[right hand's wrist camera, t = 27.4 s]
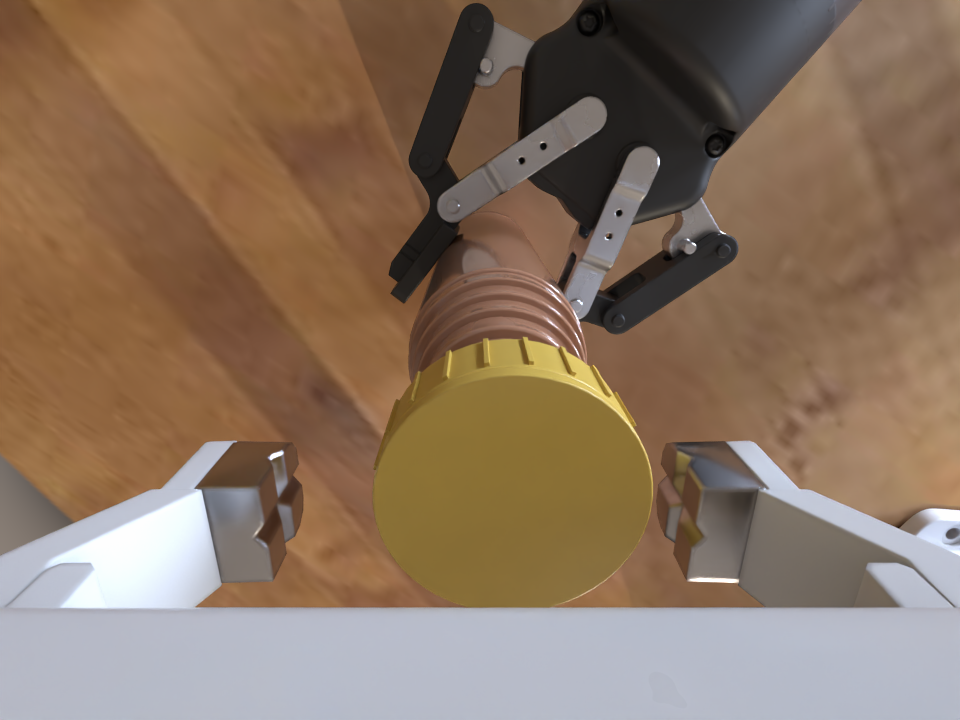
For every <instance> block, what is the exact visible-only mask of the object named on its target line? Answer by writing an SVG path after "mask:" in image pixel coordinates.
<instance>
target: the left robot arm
mask: <svg viewBox="0 0 960 720" xmlns="http://www.w3.org/2000/svg"><path fill="white" fill-rule="evenodd" d="M861 1H862V0H584V1H583V2H582V3H581V5H580V6H579V7H578V9H577V10H576V11H575V13H574V14H573V15H572V17H571V18H570V19H569V20H568V21H567V22H566V23H565V24H564V25H563V26H561V27H560V28H558V29H556V30H555V31H552V32H550V33H548V34H546V35H544V36H542V37H541V38H539V39H538V40H537V41H536V42H534V41H532V40H530V39H528V38H526V37H524V36H522V35H520V34H518V33H516V32H514V31H512V30H510V29H508V28H506V27H504V26H502V25H501V24H499V23H497V22H495V21H494V19H493V15H492V13H491V11H490V10H489V9H488V8H487V7H486V6H485V5H483V4H480V3H473V4H470V5H468V6H467V7H465V8H464V9H463V11H462V12H461V14H460V17H459V20H458V22H457V25H456V28H455V31H454V33H453V36H452V39H451V42H450V45H449V47H448V50H447V53H446V56H445V58H444V61H443V64H442V67H441V69H440V72H439V75H438V78H437V80H436V83H435V86H434V89H433V91H432V94H431V97H430V100H429V102H428V105H427V108H426V111H425V113H424V116H423V119H422V122H421V124H420V127H419V130H418V133H417V135H416V138H415V141H414V144H413V146H412V149H411V152H410V155H409V165H410V168H411V170H412V171H413V172H414V173H415V174H416V175H417V176H418V178H419V180H420V181H421V183H422V184H423V186H424V188H425V189H426V191H427V193H428V195H429V198H430V208H429V211H428V213H427V215H426V216H425V218H424V219H423V220H422V222H421V223H420V224H419V226H418V227H417V228H416V230H415V231H414V233H413V234H412V235H411V237H410V238H409V239H408V241H407V242H406V243H405V245H404V246H403V247H402V249H401V250H400V252H399V253H398V254H397V256H396V257H395V258H394V260H393V261H392V263H391V267H390V271H389V276H391V277H392V278H393V279H395V280H396V281H397V282H398V283H397V284H396V285H395V287H394V288H393V290H392V292H391V293H390V294H392V295H393V296H394V297H396V298H397V299H398V300H400V301H401V302H402V303H405V302H406V301H407V300H408V298H409V297H410V296H411V294H412V293H413V292H414V290H415V289H416V288H417V287H418V285H419V284H420V283H421V281H422V280H423V279H424V277H425V276H426V275H427V274H428V272H429V271H430V270H431V268H432V267H433V266H434V264H435V263H436V262H437V261H438V259H439V258H440V256H441V255H442V253H443V252H444V251H445V250H446V248H447V247H448V246H449V245H450V244H451V242H452V241H453V240H454V238H455V237H456V236H457V234H458V232H459V228H460V226H459V223H460V222H461V221H462V219H464V218H465V217H467V216H469V215H470V214H472V213H473V212H475V211H476V210H478V209H479V208H481V207H482V206H484V205H485V204H487V203H488V202H490V201H491V200H493V199H494V198H496V197H497V196H499V195H501V194H503V193H505V192H506V191H508V190H510V189H511V188H513V187H514V186H516V185H517V184H519V183H520V182H522V181H523V180H525V179H526V178H527V179H528V180H529V181H531V182H532V183H533V184H534V185H535V186H536V187H538V188H539V189H541V190H543V191H545V192H547V193H549V194H551V195H553V196H555V197H557V199H558V200H559V202H560V203H561V205H562V206H563V208H564V209H565V211H566V212H567V213H568V214H569V215H570V216H571V217H573V218H574V219H575V220H576V221H577V222H578V224H577V227H576V229H575V232H574V234H573V236H572V239H571V242H570V246H569V252H568V255H567V257H566V260H565V262H564V264H563V267H562V269H561V272H560V274H559V277H558V279H557V281H556V283H557V285H558V286H559V288H560V289H561V291H562V292H563V294H564V296H565V297H566V299H567V300H568V302H569V303H570V305H571V306H572V308H573V309H574V311H575V313H576V315H577V317H578V319H579V322H589V323H592V324H595V325H598V326H601V327H604V328H605V329H606V330H607V331H608V332H610V333H612V334H622V333H624V332H626V331H628V330H629V329H631V328H632V327H634V326H635V325H637V324H638V323H640V322H641V321H643V320H644V319H646V318H647V317H649V316H650V315H652V314H653V313H655V312H656V311H658V310H659V309H661V308H662V307H664V306H665V305H667V304H668V303H670V302H671V301H673V300H674V299H676V298H677V297H679V296H680V295H682V294H684V293H685V292H687V291H688V290H690V289H691V288H693V287H694V286H696V285H697V284H699V283H700V282H702V281H703V280H705V279H706V278H708V277H709V276H711V275H712V274H714V273H715V272H717V271H718V270H720V269H721V268H723V267H724V266H726V265H727V264H729V263H730V262H732V261H733V260H734V258H735V257H736V255H737V253H738V243H737V241H736V240H735V238H733V237H732V236H729V235H726V234H725V233H723V232H721V231H720V229H719V228H718V226H717V224H716V222H715V221H714V219H713V217H712V215H711V214H710V212H709V210H708V208H707V207H706V205H705V203H704V201H703V200H702V196H703V195H704V193H705V191H706V188H707V185H708V182H709V178H710V175H711V173H712V171H713V168H714V166H715V165H716V163H717V161H718V160H719V159H720V157H721V156H722V155H723V154H724V153H725V152H726V151H727V150H728V149H729V148H730V147H731V146H732V145H733V144H734V143H735V142H736V141H737V140H738V139H739V137H740V136H741V135H742V134H743V133H744V132H745V131H746V129H747V128H748V127H749V126H750V125H751V124H752V123H753V122H754V120H755V119H756V118H757V117H758V116H759V115H760V114H761V113H762V111H763V110H764V109H765V108H766V107H767V106H768V105H769V104H770V103H771V101H772V100H773V99H774V98H775V97H776V96H777V95H778V94H779V92H780V91H781V90H782V89H783V88H784V87H785V86H786V85H787V83H788V82H789V81H790V80H791V79H792V78H793V77H794V76H795V75H796V73H797V72H798V71H799V70H800V69H801V68H802V67H803V66H804V65H805V63H806V62H807V61H808V60H809V59H810V58H811V57H812V56H813V54H814V53H815V52H816V51H817V50H818V49H819V48H820V47H821V45H822V44H823V43H824V42H825V41H826V40H827V39H828V38H829V36H830V35H831V34H832V33H833V32H834V31H835V30H836V29H837V28H838V26H839V25H840V24H841V23H842V22H843V21H844V20H845V19H846V17H847V16H848V15H849V14H850V13H851V12H852V11H853V10H854V8H855V7H856V6H857V5H858V4H859V3H860V2H861ZM510 70H520V71H522V83H521V99H520V114H519V130H518V141H516V142H515V143H513V144H512V145H510V146H509V147H507V148H506V149H504V150H503V151H501V152H500V153H498V154H497V155H496V156H494V157H493V158H491V159H490V160H488V161H487V162H485V163H484V164H483V165H481V166H480V167H478V168H477V169H475V170H474V171H473V172H471V173H470V174H468V175H467V176H465V177H464V178H462V179H461V180H459V179H458V177H457V176H456V174H455V172H454V171H453V169H452V167H451V166H450V164H449V162H448V161H447V158H448V155H449V153H450V150H451V147H452V145H453V142H454V140H455V137H456V134H457V132H458V129H459V127H460V124H461V122H462V119H463V116H464V114H465V111H466V109H467V106H468V103H469V101H470V98H471V96H472V93H473V91H474V88H475V86H476V87H478V88H481V89H490V88H493V87H494V86H495V85H496V84H497V83H498V82H499V80H500V78H501V77H502V76H503V74H505V73H506V72H508V71H510ZM674 213H675V222H674V225H673V227H672V228H671V229H670V230H669V231H668V232H667V233H666V234H665V236H664V237H663V240H662V248H663V250H662V251H661V252H659V253H658V254H657V255H655V256H654V257H652V258H651V259H649V260H648V261H646V262H645V263H643V264H642V265H641V266H639V267H638V268H636V269H635V270H633V271H632V272H630V273H629V274H627V275H626V276H625V277H623V278H622V279H620V280H619V281H617V282H616V283H614V284H613V285H611V286H610V287H609V288H607V289H606V290H604V291H601V290H598V289H599V287H600V285H601V283H602V280H603V278H604V276H605V274H606V272H607V271H608V270H610V269H611V267H612V266H613V264H614V262H615V260H616V258H617V256H618V253H619V251H620V249H621V247H622V244H623V242H624V240H625V238H626V235H627V233H628V231H629V229H630V226H631V225H634V224H638V223H642V222H645V221H649V220H652V219H656V218H660V217H663V216H667V215H670V214H674ZM608 233H609V237H607V238H606V235H607V234H608Z"/></svg>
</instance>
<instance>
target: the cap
mask: <svg viewBox="0 0 960 720" xmlns="http://www.w3.org/2000/svg"><path fill="white" fill-rule="evenodd" d="M635 426H636V424H635V422H634V420H633V419H632V417H631V415H630V414H629V412H628V410H627V409H626V407H625V405H624V404H623V402H622V400H621V399H620V397H619V395H618V394H617V392H615V393H612V391H611V390H610V388H609V387H608V385H607V384H606V383H605V381H604V380H603V379H602V377H601V375H600V374H599V372H598V370H597V368H596V367H595V366H594V365H592V366H591V367H589V366H588V365H587V364H586V363H584V362H583V361H582V360H580V359H578V358H577V357H575V356H573V355H572V354H570V353H568V352H567V351H566V349H565V348H564V347H562V346H560V348H556V347H554V346H550V345H547V344H543V343H540V342H535V341H528V338H527V337H522V340H521V339H501V340H490V341H488V338H485V339H483V342H480V343H476V344H472V345H469V346H466V347H463V348H460V349H458V350H455V351H453V352H451V350H449V351H447V352H446V355H445V356H444V357H442V358H440V359H439V360H437V361H436V362H434V363H433V364H431V365H430V366H429V367H427V368H426V369H425V370H424V371H423V372H422V373H420V372H419V371H418V372H417V373H416V374H415V378H414V381H413V382H412V383H411V385H410V386H409V387H408V388H407V390H406V391H405V393H404V394H403V396H402V398H401V399H400V401H399V400H397V399H396V401H395V403H394V406H393V409H392V412H391V415H390V418H389V421H388V424H387V427H386V430H385V433H384V436H383V440H382V443H381V446H380V449H379V452H378V455H377V458H376V461H375V464H374V470H376V471H375V475H374V482H373V491H372V496H373V510H374V515H375V520H376V524H377V527H378V530H379V533H380V535H381V538H382V540H383V542H384V544H385V546H386V547H387V549H388V551H389V553H390V554H391V555H392V557H393V558H394V560H395V561H396V562H397V564H398V565H399V566H400V567H401V568H402V569H403V570H404V571H405V572H406V573H407V574H408V575H409V576H410V577H411V578H412V579H414V580H415V581H416V582H417V583H419V584H420V585H421V586H423V587H424V588H426V589H427V590H429V591H431V592H432V593H434V594H436V595H438V596H440V597H442V598H444V599H446V600H448V601H451V602H454V603H457V604H459V605H462V606H465V607H470V608H549V607H553V606H556V605H559V604H563V603H565V602H568V601H570V600H573V599H575V598H578V597H580V596H582V595H583V594H585V593H587V592H589V591H591V590H593V589H594V588H596V587H597V586H599V585H600V584H601V583H603V582H604V581H606V580H607V579H608V578H609V577H610V576H612V575H613V574H614V573H615V572H616V571H617V570H618V569H619V568H620V567H621V566H622V565H623V564H624V563H625V561H626V560H627V559H628V558H629V557H630V555H631V554H632V552H633V551H634V549H635V548H636V546H637V545H638V543H639V541H640V539H641V537H642V535H643V533H644V531H645V529H646V526H647V523H648V520H649V516H650V512H651V506H652V500H653V480H652V473H651V467H650V463H649V460H648V456H647V454H646V451H645V449H644V447H643V445H642V443H641V441H640V439H639V437H638V435H637V433H636V432H635V430H634V428H633V427H635Z"/></svg>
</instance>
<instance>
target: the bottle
mask: <svg viewBox="0 0 960 720" xmlns="http://www.w3.org/2000/svg"><path fill="white" fill-rule="evenodd" d="M459 226H460V228H459V232H458V234H457V236H456V237H455V238H454V240H453V241H452V242H451V244H450V245H449V246H448V247H447V248H446V250H445V251H444V252H443V253H442V255H441V256H440V258H439V259H438V261H437V263H436V266H435V268H434V271H433V274H432V276H431V279H430V282H429V284H428V287H427V290H426V292H425V295H424V298H423V300H422V303H421V306H420V309H419V311H418V314H417V317H416V319H415V322H414V325H413V328H412V332H411V335H410V342H409V374H410V380H411V383H412V382H413V381H414V378H415V374H416V373H417V372H418V371H419V372H420V373H422V372H423V371H424V370H425V369H426V368H427V367H429V366H430V365H431V364H433V363H434V362H436V361H437V360H439V359H440V358H442V357H444V356H445V355H446V352H447V351H449V350H451V352H453V351H455V350H458V349H460V348H463V347H466V346H469V345H472V344H476V343H480V342H483V339H485V338H488V341H490V340H501V339H521V340H522V337H527V338H528V341H535V342H540V343H543V344H547V345H550V346H554V347H556V348H560V346H562V347H564V348H565V349H566V351H567V352H568V353H570V354H572V355H573V356H575V357H577V358H578V359H580V360H582V361H583V362H584V363H586V364H587V350H586V344H585V340H584V336H583V332H582V328H581V325H580V322H579V319H578V317H577V315H576V313H575V311H574V309H573V308H572V306H571V305H570V303H569V302H568V300H567V299H566V297H565V296H564V294H563V292H562V291H561V289H560V288H559V286H558V285H557V283H556V282H555V280H554V279H553V277H552V276H551V274H550V272H549V271H548V269H547V268H546V266H545V265H544V263H543V262H542V260H541V259H540V257H539V256H538V254H537V253H536V251H535V249H534V248H533V246H532V245H531V243H530V242H529V240H528V239H527V237H526V236H525V234H524V233H523V231H522V229H521V228H520V227H519V226H518V225H517V224H516V223H515V222H514V221H513V220H511V219H510V218H508V217H506V216H504V215H502V214H499V213H495V212H478V213H473V214H471V215H469V216H467V217H465V218H464V219H462V221H461V222H460V223H459Z"/></svg>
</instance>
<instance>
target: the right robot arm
mask: <svg viewBox="0 0 960 720" xmlns="http://www.w3.org/2000/svg"><path fill="white" fill-rule="evenodd" d="M298 465H299V461H298V455H297V449H296V447H295V446H294V444H293V443H292V442H246V441H239V442H237V441H212V442H206V443H205V444H204V445H203V446H202V447H201V448H200V449H199V450H198V451H197V452H196V453H195V454H194V455H193V456H192V457H191V458H190V459H189V460H188V461H187V462H186V463H185V464H184V465H183V466H182V468H181V469H180V470H179V471H178V472H177V473H176V474H175V475H174V476H173V477H172V478H171V479H170V480H169V481H168V482H167V483H166V484H165V485H164V486H163V487H162V488H161V489H151V490H149V491H147V492H144V493H142V494H140V495H137V496H135V497H133V498H130V499H128V500H126V501H124V502H121V503H119V504H117V505H114V506H112V507H110V508H107V509H105V510H103V511H101V512H98V513H96V514H94V515H91V516H89V517H87V518H85V519H82V520H80V521H78V522H75V523H73V524H71V525H69V526H66V527H64V528H62V529H59V530H57V531H55V532H53V533H50V534H48V535H45V536H43V537H41V538H39V539H36V540H34V541H32V542H29V543H27V544H25V545H23V546H20V547H18V548H16V549H13V550H11V551H9V552H6V553H4V554H2V555H0V720H960V510H948V509H925V510H922V511H920V512H918V513H916V514H915V515H913V516H912V517H911V518H910V519H908V520H907V521H906V522H905V523H904V524H903V525H902V526H901V527H900V528H899V529H898V528H896V527H894V526H891V525H889V524H887V523H884V522H882V521H880V520H878V519H875V518H873V517H871V516H868V515H866V514H864V513H862V512H859V511H857V510H855V509H852V508H850V507H848V506H846V505H843V504H841V503H839V502H836V501H834V500H832V499H829V498H827V497H825V496H823V495H820V494H818V493H816V492H813V491H811V490H809V489H799V488H798V487H797V486H796V485H795V484H794V483H793V482H792V481H791V480H790V479H789V478H788V477H787V476H786V475H785V474H784V473H783V472H782V471H781V470H780V468H779V467H778V466H777V465H776V464H775V463H774V462H773V461H772V460H771V459H770V458H769V457H768V456H767V455H766V454H765V453H764V452H763V451H762V450H761V449H760V448H759V447H758V446H757V445H756V443H754V442H751V441H729V442H725V441H718V442H676V443H667V444H666V445H665V447H664V450H663V454H662V461H661V465H662V467H663V468H664V470H665V472H666V474H667V476H666V477H665V478H664V479H663V480H662V481H661V482H660V483H659V485H658V491H657V500H656V501H657V514H658V519H659V523H660V527H661V529H662V531H663V533H664V535H665V537H667V538H668V539H670V540H671V541H673V542H674V543H675V546H674V553H673V554H674V556H675V558H676V560H677V562H678V564H679V566H680V568H681V570H682V572H683V574H684V576H685V578H686V580H687V581H689V582H726V583H738V585H739V586H740V587H741V588H742V589H744V590H745V591H746V592H747V593H749V594H750V595H751V596H752V597H754V598H755V599H756V600H757V601H759V602H760V603H761V604H762V605H764V606H765V607H766V608H194V607H195V606H197V605H198V604H199V603H200V602H202V601H203V600H204V599H205V598H207V597H208V596H209V595H210V594H212V593H213V592H214V591H215V590H217V589H218V588H219V587H220V586H222V583H234V582H269V581H273V580H274V578H275V576H276V574H277V572H278V570H279V568H280V566H281V564H282V562H283V560H284V558H285V556H286V554H287V553H286V546H285V543H286V542H287V541H289V540H290V539H292V538H293V537H295V535H296V533H297V531H298V529H299V526H300V523H301V518H302V513H303V490H302V485H301V483H300V482H299V481H298V480H297V479H296V478H295V477H294V476H293V474H294V472H295V470H296V468H297V467H298Z"/></svg>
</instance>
